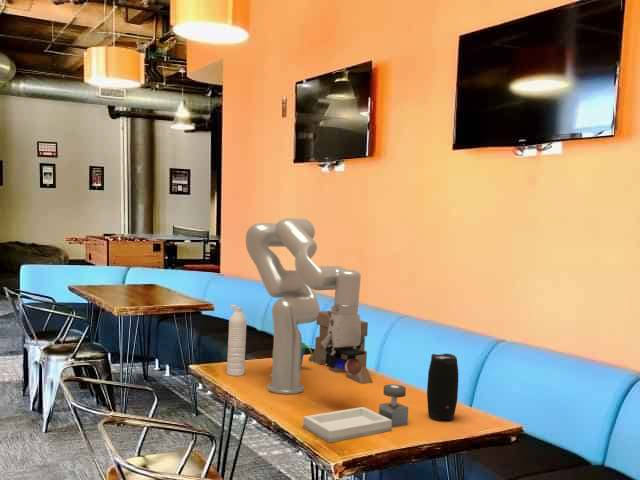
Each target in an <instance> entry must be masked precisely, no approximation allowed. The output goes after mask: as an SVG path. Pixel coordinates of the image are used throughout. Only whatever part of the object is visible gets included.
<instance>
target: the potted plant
mask: <svg viewBox="0 0 640 480" xmlns="http://www.w3.org/2000/svg"><path fill="white" fill-rule="evenodd" d="M306 349H308V350H309V353H310V356H311V358H310V357H309V358H310V360H309V362H310V363H311V362H312V361H311V360H312V353H313V351H312V349H311V347H310V346H308V345H307V344H306V343H304V342H301V364H300V370H302V365H303V361H304V355H305V351H306ZM271 351H272V352H271V359H272V360H273V350H271Z"/></svg>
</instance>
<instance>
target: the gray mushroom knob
mask: <svg viewBox="0 0 640 480" xmlns="http://www.w3.org/2000/svg"><path fill="white" fill-rule="evenodd" d="M406 389H407V387H406V386H404V385H399V384H393V383H391V384H386V385H383V393H382V394H383V395H384V396H386V397H389V398H390V399H391V401H390V402H391V407H393V408H394V407H397V403H398V398H404V397H405V396H406V393H407V390H406Z"/></svg>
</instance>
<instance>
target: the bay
mask: <svg viewBox="0 0 640 480" xmlns="http://www.w3.org/2000/svg"><path fill="white" fill-rule="evenodd" d="M302 428H304V429H305V430H307V431H309V432H310V433H312V434H314V435H315V436H317V437H318V438H320V439H322V440H324V441H326V442H327V443H329V444H330V443H336V442H340V441H345V440H350V439H351V440H352V439H356V438H361V437H365V436H370V435H375V434H382V433H386V432H392V430H393V429H392V428H393V427H392V420H391V419H389V418H386V417H384V416H382V415H380V414H379V412H378V413H377V412H375V411H373V410H371V409H369V408H367V407H365V406H361V407H354V408H347V409H341V410H336V411H330V412H323V413H318V414H312V415H306V416H303V418H302Z"/></svg>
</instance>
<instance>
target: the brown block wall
mask: <svg viewBox="0 0 640 480" xmlns="http://www.w3.org/2000/svg"><path fill="white" fill-rule="evenodd" d="M332 313H333V311H332V310H326V311H325V310H324V311H322V310H320V314H319V317H318V318H317V320H316V325H318V326H319V336H316V337H315V341H314V351H312V360H311V362H312V361H313V362H312V363H315V362H316V363H315V364H317V363H318V364H317V365H319V364H320V365H319V366H326V365H325V364H327V363H326V360H322V359H321V358H320V356H319V352H320V350H322V349H324V348H323V346H322V345H321V341H322V340H323V339H324V338H325V337H326V336H327V335H328V327H329V322H330V318H331V315H332ZM360 321H361V337H362V338H363V339H364V340H365V341H364V343H363V344H362V345H361V347H360V349H359V350H360V351H364V352H365V354H362V355H357V356H356V357H355V359H357V360H359V361H360V363H361V370H360V372H359V373H358V374H356V375H350V374H348V373H347V372H346V370H344V369H340V368H331V367H328V370H329V371H332V372H334V373H338V374H339V373H346V378H347V379H350V380H352V381H354V382H355V383H359V384H361V385H364V384H373V383H374V381H373V379H372V377H371V374H370V373H369V371H368V368H367V357H368V352H367V350H366V349H365V345H366V337H367V336H368V332H369V330H368V327H369V322H367V321H365V320H361V319H360ZM327 345H328V347H329V345H330V344H328V343H327ZM310 358H311V355H310V356H309V357H308V359H309V360H308V361H310ZM347 358H348V356H347V355H343V354H341V359H346V360H347Z"/></svg>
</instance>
